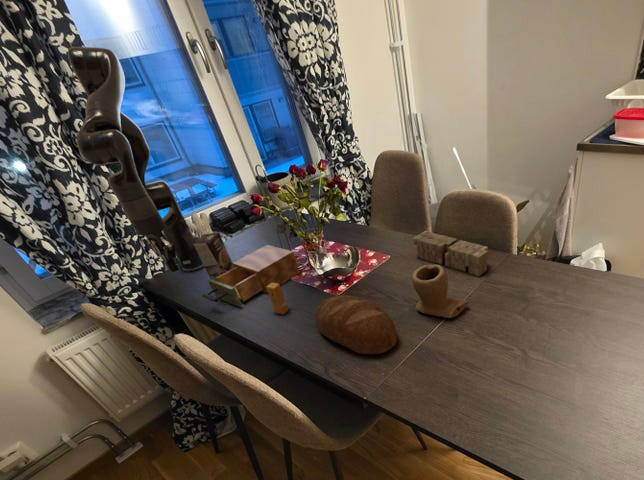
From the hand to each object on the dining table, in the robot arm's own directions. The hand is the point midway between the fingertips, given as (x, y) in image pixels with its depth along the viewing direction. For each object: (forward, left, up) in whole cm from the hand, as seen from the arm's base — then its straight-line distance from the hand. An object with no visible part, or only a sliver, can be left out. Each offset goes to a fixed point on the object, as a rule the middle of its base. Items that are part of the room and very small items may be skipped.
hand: (174, 270), depth 117 cm
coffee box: (-19, +22, -19) cm, 35 cm away
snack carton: (+10, +45, -18) cm, 49 cm away
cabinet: (0, +30, -18) cm, 35 cm away
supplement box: (+22, +16, -19) cm, 33 cm away
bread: (+53, +18, -19) cm, 59 cm away
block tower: (+57, +69, -19) cm, 91 cm away
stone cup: (+69, +39, -19) cm, 82 cm away
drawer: (0, +15, -17) cm, 23 cm away
